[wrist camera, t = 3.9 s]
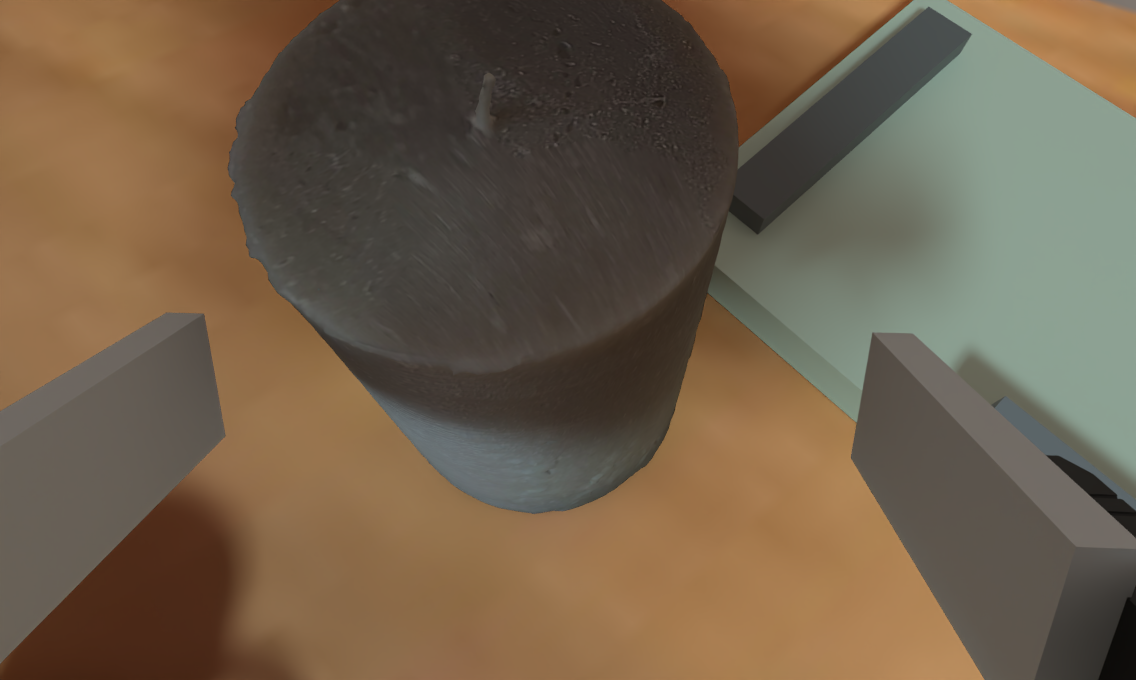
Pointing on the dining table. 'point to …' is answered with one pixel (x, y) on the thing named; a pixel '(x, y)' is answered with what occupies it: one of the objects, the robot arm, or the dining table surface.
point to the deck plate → (950, 232)
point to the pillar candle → (498, 224)
